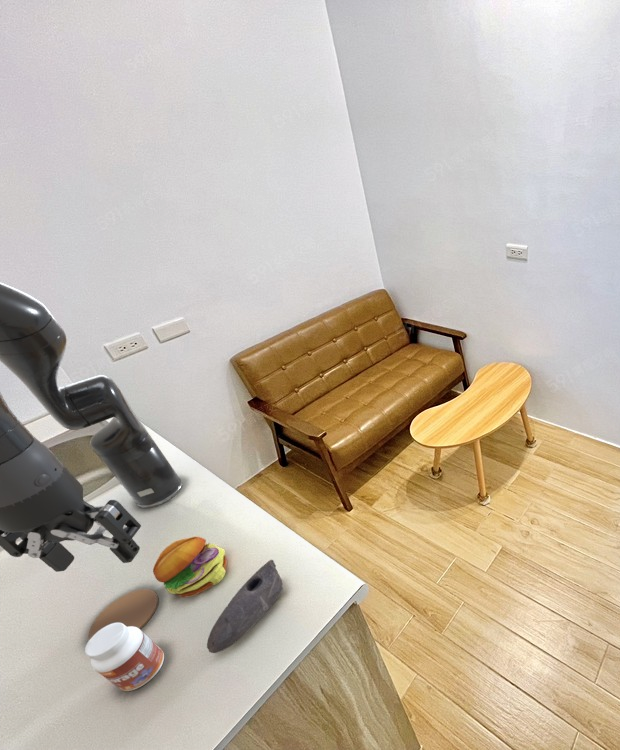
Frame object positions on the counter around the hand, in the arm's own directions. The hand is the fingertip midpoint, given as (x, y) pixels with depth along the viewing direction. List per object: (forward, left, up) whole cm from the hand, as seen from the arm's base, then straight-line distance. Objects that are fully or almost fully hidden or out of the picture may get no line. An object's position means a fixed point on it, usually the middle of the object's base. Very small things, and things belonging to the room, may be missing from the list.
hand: (99, 561), depth 54 cm
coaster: (-14, -6, -25) cm, 29 cm away
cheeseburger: (-12, +5, -25) cm, 29 cm away
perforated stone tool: (+5, +10, -25) cm, 28 cm away
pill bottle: (-1, -6, -25) cm, 26 cm away
